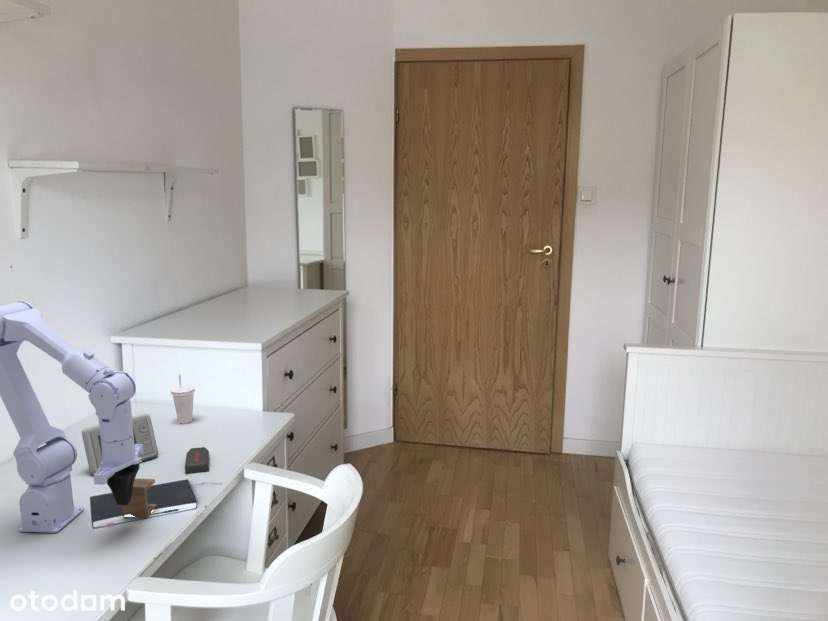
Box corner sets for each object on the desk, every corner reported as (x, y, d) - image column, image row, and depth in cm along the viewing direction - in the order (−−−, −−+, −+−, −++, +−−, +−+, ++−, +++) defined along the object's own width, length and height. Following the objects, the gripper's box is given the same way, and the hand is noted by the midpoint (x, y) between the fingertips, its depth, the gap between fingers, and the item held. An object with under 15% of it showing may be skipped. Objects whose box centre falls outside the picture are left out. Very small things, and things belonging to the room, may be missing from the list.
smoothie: (173, 419, 188) (170, 372, 186) (197, 416, 190) (193, 370, 188) (172, 426, 182) (168, 378, 180) (197, 424, 184) (193, 376, 182)
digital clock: (88, 478, 150) (83, 434, 148) (83, 465, 158) (78, 422, 156) (162, 462, 159) (158, 420, 157) (154, 450, 166) (150, 410, 164)
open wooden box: (147, 518, 132) (144, 488, 130) (123, 517, 132) (120, 487, 131) (157, 507, 136) (154, 479, 135) (133, 507, 136) (131, 478, 135)
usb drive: (185, 476, 152) (184, 464, 151) (187, 456, 163) (186, 445, 163) (208, 473, 153) (207, 462, 153) (209, 453, 165) (208, 443, 164)
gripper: (117, 452, 117) (124, 522, 120) (155, 423, 132) (160, 486, 134) (79, 451, 118) (87, 521, 121) (121, 423, 132) (127, 485, 135)
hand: (123, 503), depth 127 cm, fingers closed
